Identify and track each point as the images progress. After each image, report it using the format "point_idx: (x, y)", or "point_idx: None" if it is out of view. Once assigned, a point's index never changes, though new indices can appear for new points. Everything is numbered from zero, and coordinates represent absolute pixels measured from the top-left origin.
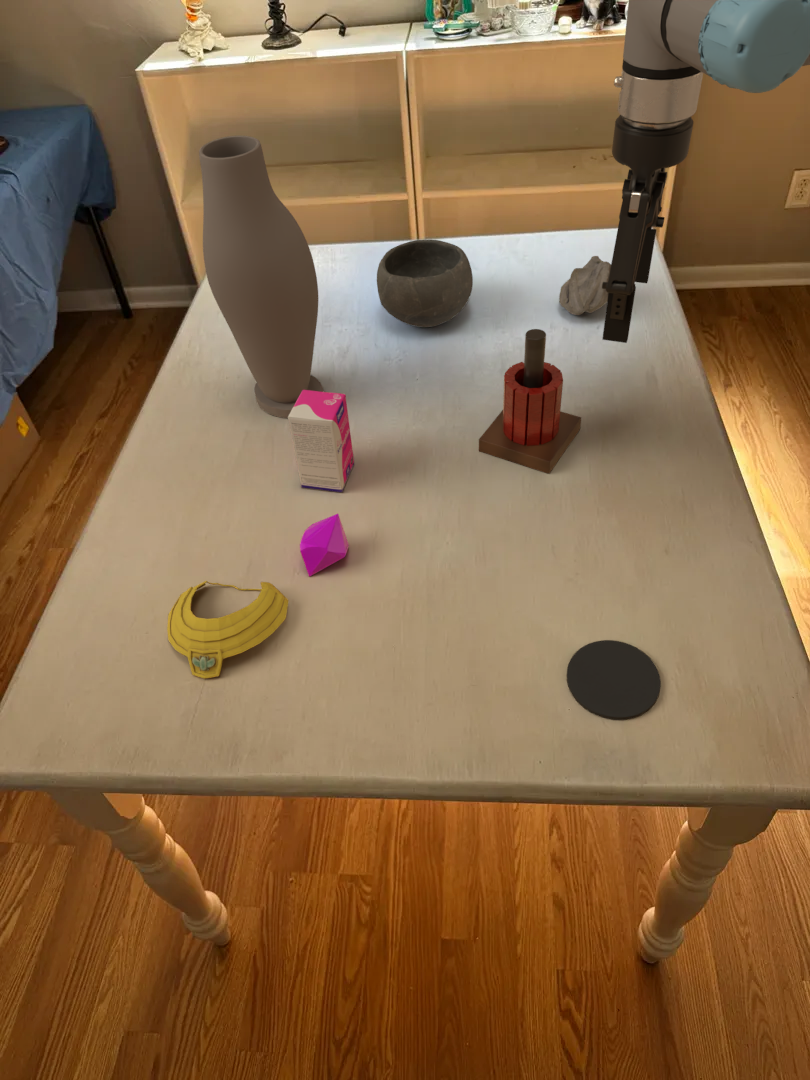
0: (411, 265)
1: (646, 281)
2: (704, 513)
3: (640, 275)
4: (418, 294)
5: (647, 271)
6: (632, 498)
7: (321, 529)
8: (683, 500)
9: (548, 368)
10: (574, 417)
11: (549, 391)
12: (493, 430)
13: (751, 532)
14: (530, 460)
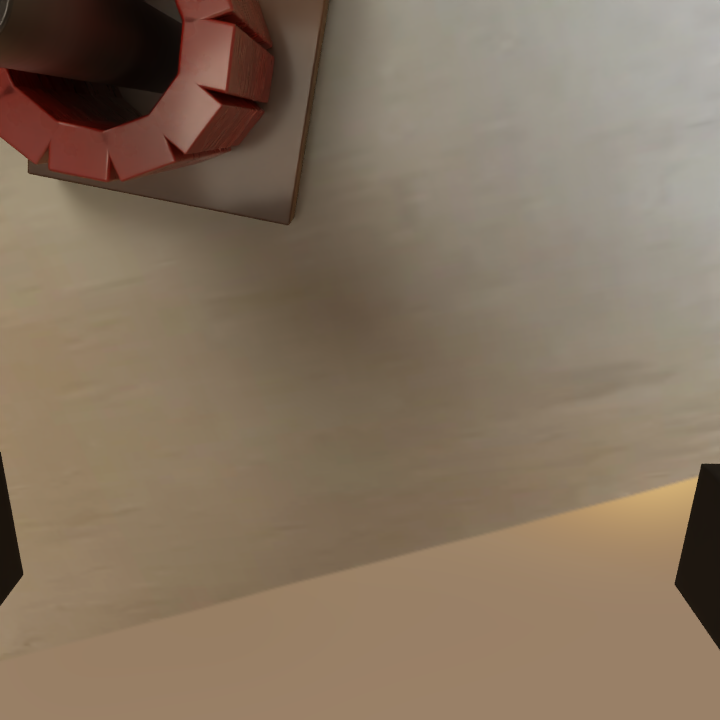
0: None
1: (679, 589)
2: (73, 560)
3: (708, 576)
4: None
5: (716, 635)
6: (53, 408)
7: None
8: (97, 516)
9: (182, 89)
10: (282, 202)
11: (6, 139)
12: None
13: (56, 644)
14: None
